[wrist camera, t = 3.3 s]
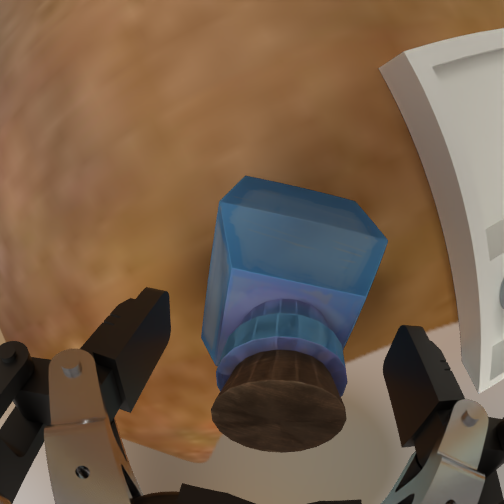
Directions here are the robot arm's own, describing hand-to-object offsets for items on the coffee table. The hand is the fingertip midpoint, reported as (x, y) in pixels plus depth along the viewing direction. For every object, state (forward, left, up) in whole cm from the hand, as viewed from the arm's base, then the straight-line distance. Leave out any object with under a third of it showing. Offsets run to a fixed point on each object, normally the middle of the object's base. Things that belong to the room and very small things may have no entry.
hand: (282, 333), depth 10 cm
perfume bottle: (0, 0, -8) cm, 8 cm away
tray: (-5, +15, -8) cm, 18 cm away
